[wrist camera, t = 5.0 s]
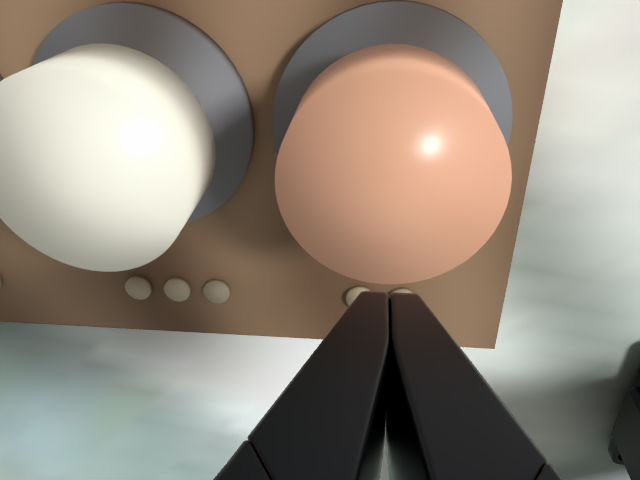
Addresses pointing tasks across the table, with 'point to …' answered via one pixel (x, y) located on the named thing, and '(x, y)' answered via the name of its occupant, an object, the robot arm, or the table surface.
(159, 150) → the cream button
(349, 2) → the button board
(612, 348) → the table surface
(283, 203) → the terracotta button
